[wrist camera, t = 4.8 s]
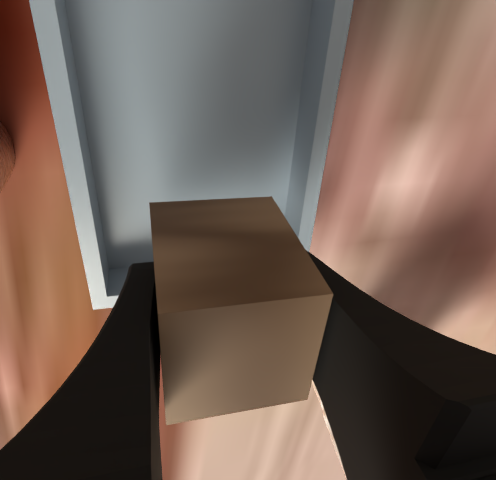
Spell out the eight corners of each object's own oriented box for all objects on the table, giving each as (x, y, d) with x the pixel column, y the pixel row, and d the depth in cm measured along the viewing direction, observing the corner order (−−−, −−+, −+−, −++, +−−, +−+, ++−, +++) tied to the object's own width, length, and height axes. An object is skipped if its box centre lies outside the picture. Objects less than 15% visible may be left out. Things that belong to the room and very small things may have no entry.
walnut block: (156, 299, 14) (166, 424, 10) (148, 202, 12) (158, 314, 8) (261, 288, 15) (307, 399, 11) (271, 196, 13) (333, 294, 9)
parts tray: (97, 273, 18) (93, 309, 16) (17, -158, 10) (-11, -189, 8) (286, 255, 20) (302, 285, 18) (338, -114, 12) (376, -130, 10)
